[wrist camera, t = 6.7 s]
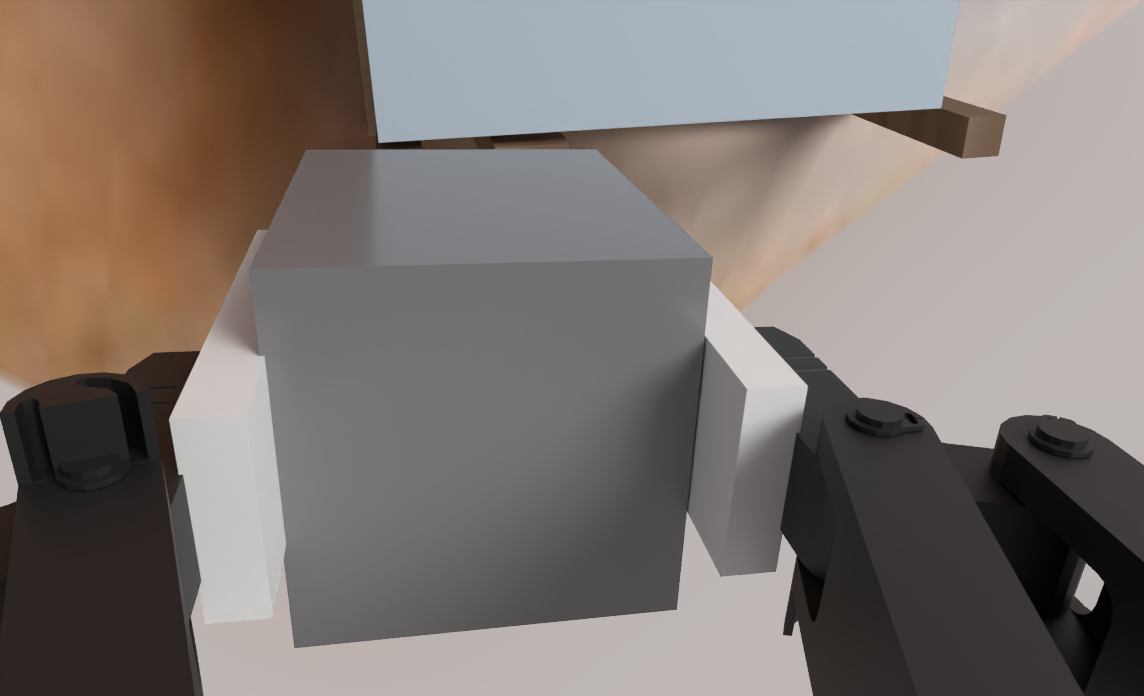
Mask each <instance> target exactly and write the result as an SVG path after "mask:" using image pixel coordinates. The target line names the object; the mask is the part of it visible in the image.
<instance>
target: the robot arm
mask: <svg viewBox="0 0 1144 696" xmlns="http://www.w3.org/2000/svg"><path fill="white" fill-rule="evenodd" d="M266 232H267V230H257V232H256V234H255V236H254V238H253V240H252V242H251V245H250V247H249V249H248V251H247V253H246V255H245V257H244V260H243V262H242V264H241V266H240V268H239V270H238V272H237V275H236V277H235V279H234V281H233V283H232V285H231V287H230V290H229V292H228V294H227V296H226V298H225V300H224V302H223V305H222V307H221V309H220V311H219V313H218V315H217V317H216V319H215V322H214V324H213V326H212V328H211V330H210V332H209V334H208V337H207V339H206V341H205V343H204V345H203V347H202V349H201V351H190V352H164V353H153V354H151V355H150V356H148V357H147V358H145V359H144V360H142V361H141V362H139V363H138V364H136V365H135V366H133V367H132V368H130V369H128V371H127V372H126V374H115V373H105V372H103V373H89V374H77V375H72V376H68V377H63V378H59V379H54V380H50V381H47V382H44V383H42V384H39V385H37V386H34V387H31V388H29V389H26V390H24V391H23V392H21V393H20V394H18V395H17V396H15V397H14V398H12V399H11V400H9V401H8V402H7V403H6V404H5V406H4V407H3V409H2V411H1V412H0V419H1V422H2V426H3V430H4V433H5V438H6V441H7V445H8V449H9V452H10V456H11V460H12V463H13V468H14V471H15V475H16V479H17V482H18V493H17V501H16V502H14V503H11V504H9V505H6V506H3V507H0V696H203V690H202V683H201V676H200V670H199V663H198V656H197V650H196V644H195V638H194V633H193V627H192V622H191V614H192V610H193V607H194V604H195V600H196V597H197V594H198V590H199V594H200V599H201V605H202V611H203V616H204V622H205V625H206V624H217V623H228V622H239V621H249V620H260V619H270V618H273V616H274V611H275V605H276V600H277V594H278V588H279V582H280V577H281V571H282V565H283V560H284V554H285V549H286V539H285V530H284V522H283V513H282V504H281V495H280V487H279V478H278V469H277V460H276V452H275V443H274V434H273V425H272V417H271V408H270V399H269V390H268V381H267V373H266V364H265V356H259V350H258V341H257V333H256V325H255V316H254V308H253V300H252V292H251V283H250V275H249V268H250V266H251V264H252V262H253V259H254V257H255V255H256V253H257V251H258V249H259V247H260V245H261V243H262V241H263V239H264V237H265V234H266ZM687 512H688V514H689V515H690V518H691V519H692V521H693V523H694V525H695V527H696V529H697V531H698V533H699V535H700V537H701V539H702V541H703V543H704V545H705V547H706V549H707V550H708V553H709V555H710V556H711V558H712V560H713V562H714V564H715V566H716V568H717V570H718V572H719V574H720V576H731V575H743V574H754V573H764V572H775V571H776V568H777V562H778V556H779V551H780V545H781V539H782V533H783V535H784V536H785V538H786V539H787V540H788V542H789V544H790V545H791V547H792V548H793V550H794V551H795V553H796V554H797V557H796V562H795V568H794V573H793V579H792V584H791V590H790V596H789V601H788V606H787V611H786V617H785V622H784V631H783V635H789V636H792V632H793V627H794V623H795V622H797V621H798V622H799V626H800V632H801V637H802V642H803V647H804V652H805V657H806V662H807V667H808V672H809V677H810V682H811V687H812V691H813V696H1144V465H1143V464H1141V463H1140V462H1139V461H1137V460H1136V459H1135V458H1133V457H1132V456H1130V455H1129V454H1128V453H1126V452H1125V451H1124V450H1122V449H1121V448H1120V447H1118V446H1117V445H1115V444H1114V443H1113V442H1111V441H1110V440H1109V439H1107V438H1105V437H1103V436H1101V435H1100V434H1098V433H1096V432H1095V431H1093V430H1091V429H1088V428H1086V427H1083V426H1080V425H1078V424H1076V423H1075V422H1074V421H1072V420H1069V419H1065V418H1061V417H1060V418H1059V419H1057V417H1056V416H1050V415H1043V416H1032V415H1024V416H1018V417H1011V418H1009V419H1008V420H1006V421H1005V422H1003V423H1002V424H1001V426H1000V429H999V433H998V437H997V440H996V443H995V447H994V449H990V448H982V447H973V446H964V445H956V444H947V443H941V441H940V439H939V438H938V436H937V434H936V432H935V431H934V429H933V427H932V426H931V425H930V424H929V423H928V422H927V421H926V420H925V419H924V418H923V417H922V416H920V415H918V414H917V413H915V412H913V411H912V410H910V409H908V408H906V407H903V406H900V405H897V404H894V403H891V402H888V401H882V400H876V399H870V398H858V397H857V396H856V395H855V394H854V393H853V392H852V391H851V390H850V389H849V388H848V387H847V386H846V385H845V384H844V383H843V382H842V381H841V380H840V379H839V378H838V377H837V376H836V375H835V374H834V373H833V372H832V371H831V370H827V366H826V365H825V364H824V363H823V362H822V361H821V360H820V359H819V358H815V356H814V354H813V353H812V352H811V351H810V350H809V349H808V348H807V347H806V346H805V345H804V344H803V343H802V342H801V341H800V340H799V339H797V338H795V337H793V336H791V335H789V334H787V333H785V332H783V331H781V330H779V329H777V328H775V327H753V326H752V325H751V324H750V323H749V322H748V321H747V320H746V319H745V318H744V317H743V315H742V314H741V313H740V312H739V311H738V310H737V309H736V308H735V307H734V306H733V305H732V304H731V303H730V301H729V300H728V299H727V298H726V297H725V296H724V295H723V294H722V293H721V292H720V291H719V290H718V289H717V287H716V286H715V285H714V284H713V283H712V282H711V281H710V289H709V299H708V309H707V318H706V328H705V338H704V348H703V357H702V367H701V377H700V387H699V396H698V406H697V416H696V426H695V435H694V445H693V455H692V465H691V475H690V484H689V494H688V504H687ZM1086 563H1087V564H1088V565H1089V566H1090V567H1091V568H1092V569H1093V570H1094V571H1095V572H1096V573H1097V574H1098V575H1099V576H1100V577H1101V579H1102V580H1103V581H1104V585H1103V588H1102V590H1101V593H1100V596H1099V598H1098V601H1097V604H1096V606H1095V607H1094V609H1093V610H1092V611H1090V610H1089V609H1088V608H1086V607H1085V606H1084V605H1083V604H1082V603H1081V602H1080V601H1079V600H1078V599H1077V598H1076V597H1075V596H1074V595H1075V592H1076V590H1077V587H1078V584H1079V581H1080V578H1081V576H1082V573H1083V570H1084V567H1085V565H1086Z"/></svg>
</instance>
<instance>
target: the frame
mask: <svg viewBox="0 0 1144 696" xmlns="http://www.w3.org/2000/svg"><path fill="white" fill-rule="evenodd" d="M352 3H353V12H354V20H355V28H356V37H357V45H358V53H359V62H360V70H361V78H362V87H363V95H364V103H365V112H366V120H367V128H368V136H376V150H422V145H421V141H420V140H416V141H400V142H383V143H379V141H378V133H377V124H376V115H375V107H374V98H373V89H372V81H371V72H370V63H369V55H368V46H367V37H366V29H365V20H364V11H363V3H362V0H352ZM852 115H855V116H857V117H860V118H862V119H865V120H867V121H870V122H872V123H875V124H877V125H880V126H882V127H885V128H887V129H890V130H892V131H895V132H897V133H900V134H902V135H905V136H907V137H910V138H912V139H915V140H917V141H920V142H922V143H925V144H927V145H930V146H932V147H935V148H937V149H940V150H942V151H945V152H947V153H950V154H952V155H955V156H957V157H960V158H976V157H990V156H998V154H999V149H1000V144H1001V139H1002V134H1003V129H1004V124H1005V119H1006V115H1004V114H1000V113H997V112H994V111H991V110H987V109H984V108H981V107H977V106H974V105H971V104H968V103H964V102H961V101H958V100H954V99H951V98H948V97H945V96H943V101H942V107H941V108H937V109H921V110H905V111H888V112H872V113H856V114H852ZM473 138H474V140H475V143H476V145H477V147H478V149H570V143H569V142H568V141H567V140H566V139H565V137H564V136H563V135H562V134H561V133H560V132H546V133H530V134H514V135H497V136H481V137H473Z"/></svg>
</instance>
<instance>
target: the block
mask: <svg viewBox="0 0 1144 696" xmlns="http://www.w3.org/2000/svg"><path fill="white" fill-rule="evenodd" d="M712 260H713V257H711V256H710V255H709V254H708V253H707V252H706V251H705V250H704V249H703V248H702V247H701V246H700V245H699V244H698V243H696V242H695V241H694V240H693V239H692V238H691V237H690V236H689V235H688V234H687V233H686V232H685V231H684V230H682V229H681V228H680V227H679V226H678V225H677V224H676V223H675V222H674V221H673V220H672V219H671V218H670V217H668V216H667V215H666V214H665V213H664V212H663V211H662V210H661V209H660V208H659V207H658V206H657V205H656V204H654V203H653V202H652V201H651V200H650V199H649V198H648V197H647V196H646V195H645V194H644V193H643V192H642V191H640V190H639V189H638V188H637V187H636V186H635V185H634V184H633V183H632V182H631V181H630V180H629V179H628V178H626V177H625V176H624V175H623V174H622V173H621V172H620V171H619V170H618V169H617V168H616V167H615V166H614V165H612V164H611V163H610V162H609V161H608V160H607V159H606V158H605V157H604V156H603V155H602V154H601V153H600V152H598V151H597V150H596V149H440V150H306V151H305V153H304V155H303V157H302V159H301V161H300V164H299V166H298V168H297V170H296V172H295V174H294V176H293V178H292V180H291V182H290V184H289V186H288V189H287V191H286V193H285V195H284V197H283V199H282V201H281V203H280V205H279V207H278V209H277V212H276V214H275V216H274V218H273V220H272V222H271V224H270V226H269V228H268V230H267V232H266V234H265V237H264V239H263V241H262V243H261V245H260V247H259V249H258V251H257V253H256V255H255V257H254V259H253V262H252V264H251V266H250V268H249V275H250V283H251V292H252V300H253V308H254V316H255V325H256V333H257V341H258V350H259V356H265V364H266V373H267V381H268V390H269V399H270V408H271V417H272V425H273V434H274V443H275V452H276V460H277V469H278V478H279V487H280V495H281V504H282V513H283V522H284V530H285V539H286V549H285V554H284V565H285V573H286V581H287V589H288V598H289V606H290V614H291V622H292V631H293V640H294V648H300V647H310V646H320V645H330V644H340V643H350V642H359V641H369V640H379V639H389V638H399V637H409V636H419V635H429V634H439V633H448V632H459V631H469V630H478V629H488V628H498V627H507V626H518V625H528V624H538V623H548V622H558V621H568V620H578V619H587V618H597V617H607V616H617V615H627V614H637V613H646V612H657V611H665V610H666V611H667V610H676V609H677V602H678V591H679V582H680V572H681V561H682V553H683V543H684V533H685V523H686V513H687V504H688V494H689V484H690V475H691V465H692V455H693V445H694V435H695V426H696V416H697V406H698V396H699V387H700V377H701V367H702V357H703V348H704V338H705V328H706V318H707V309H708V299H709V289H710V279H711V269H712Z"/></svg>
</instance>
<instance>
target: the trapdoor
mask: <svg viewBox="0 0 1144 696" xmlns="http://www.w3.org/2000/svg"><path fill="white" fill-rule="evenodd" d="M362 3H363V11H364V20H365V29H366V37H367V46H368V55H369V63H370V72H371V81H372V89H373V98H374V107H375V115H376V124H377V133H378V141H379V143H383V142H400V141H416V140H432V139H449V138H465V137H481V136H497V135H514V134H530V133H546V132H563V131H579V130H595V129H612V128H628V127H644V126H660V125H677V124H693V123H709V122H726V121H742V120H758V119H774V118H791V117H807V116H823V115H840V114H856V113H872V112H888V111H905V110H921V109H937V108H941V107H942V101H943V95H944V89H945V83H946V77H947V71H948V65H949V59H950V53H951V47H952V41H953V35H954V29H955V23H956V18H957V12H958V6H959V0H362Z"/></svg>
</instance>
